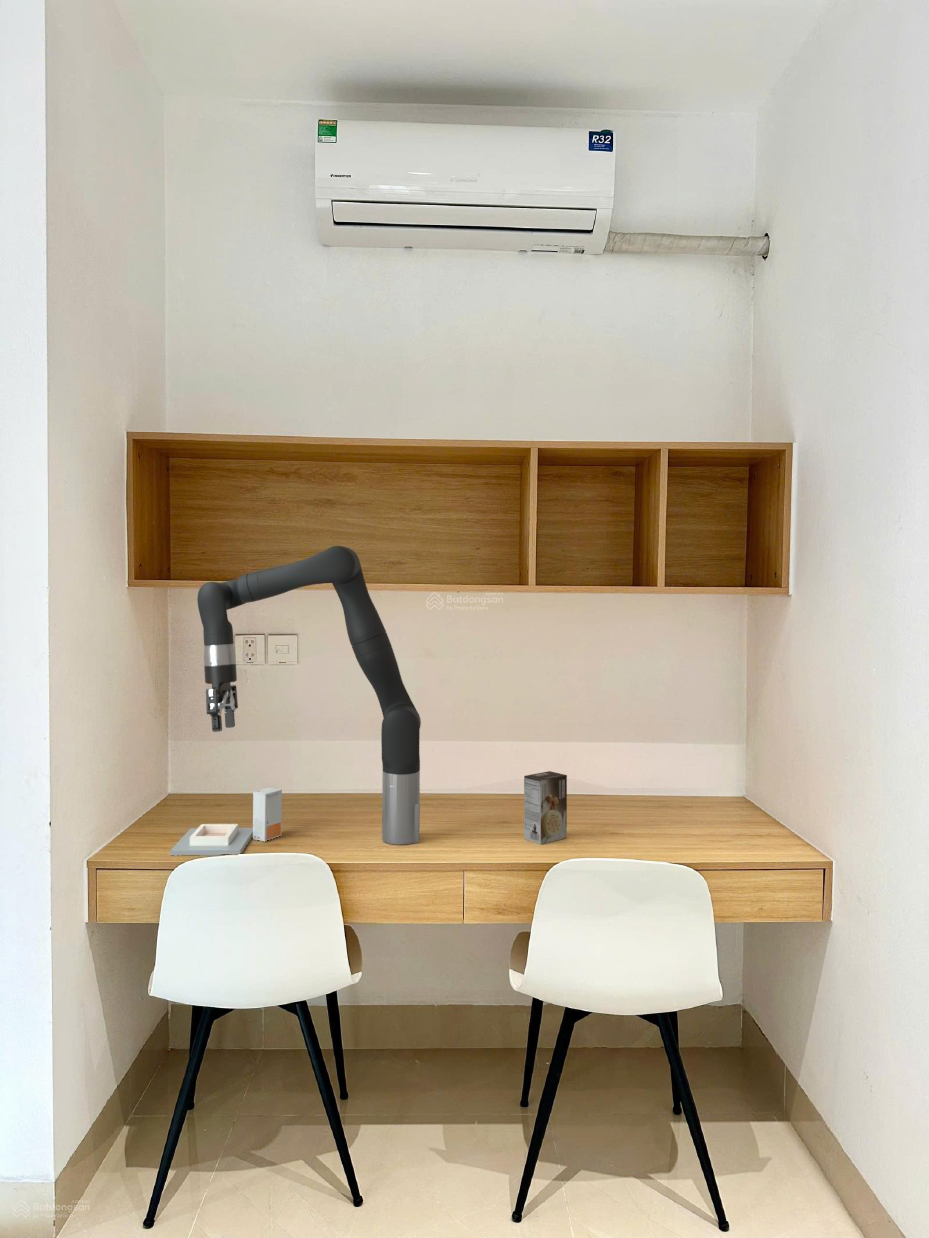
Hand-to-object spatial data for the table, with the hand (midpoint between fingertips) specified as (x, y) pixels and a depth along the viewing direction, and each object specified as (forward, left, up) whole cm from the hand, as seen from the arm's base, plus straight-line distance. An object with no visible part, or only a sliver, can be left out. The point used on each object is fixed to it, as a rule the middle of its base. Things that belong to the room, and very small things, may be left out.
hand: (223, 729), depth 208 cm
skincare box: (-10, -1, -28) cm, 29 cm away
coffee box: (-79, +1, -28) cm, 84 cm away
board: (+2, +3, -27) cm, 27 cm away
